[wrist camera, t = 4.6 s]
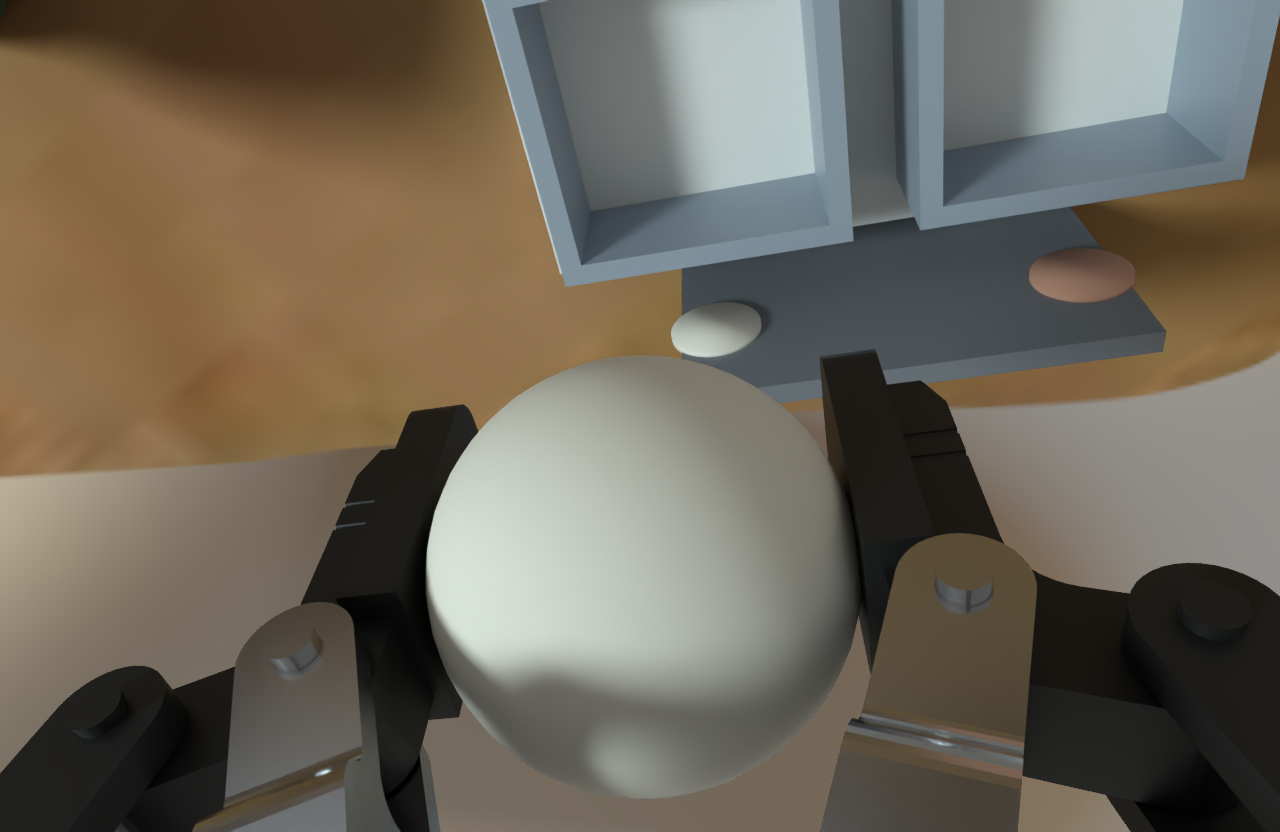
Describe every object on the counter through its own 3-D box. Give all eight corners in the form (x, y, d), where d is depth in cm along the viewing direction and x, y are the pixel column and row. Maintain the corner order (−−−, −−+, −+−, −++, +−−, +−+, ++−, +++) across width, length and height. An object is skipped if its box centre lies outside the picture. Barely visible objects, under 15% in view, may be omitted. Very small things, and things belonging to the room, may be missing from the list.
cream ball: (420, 310, 12) (283, 611, 8) (816, 248, 11) (895, 545, 7) (524, 578, 14) (464, 900, 10) (840, 544, 14) (906, 874, 10)
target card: (672, 251, 30) (670, 395, 24) (1069, 186, 28) (1180, 324, 22) (676, 271, 31) (675, 417, 24) (1067, 208, 29) (1175, 349, 23)
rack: (460, -103, 24) (424, -71, 21) (1279, -290, 21) (1393, -289, 18) (562, 262, 31) (548, 331, 27) (1197, 158, 28) (1269, 221, 24)
